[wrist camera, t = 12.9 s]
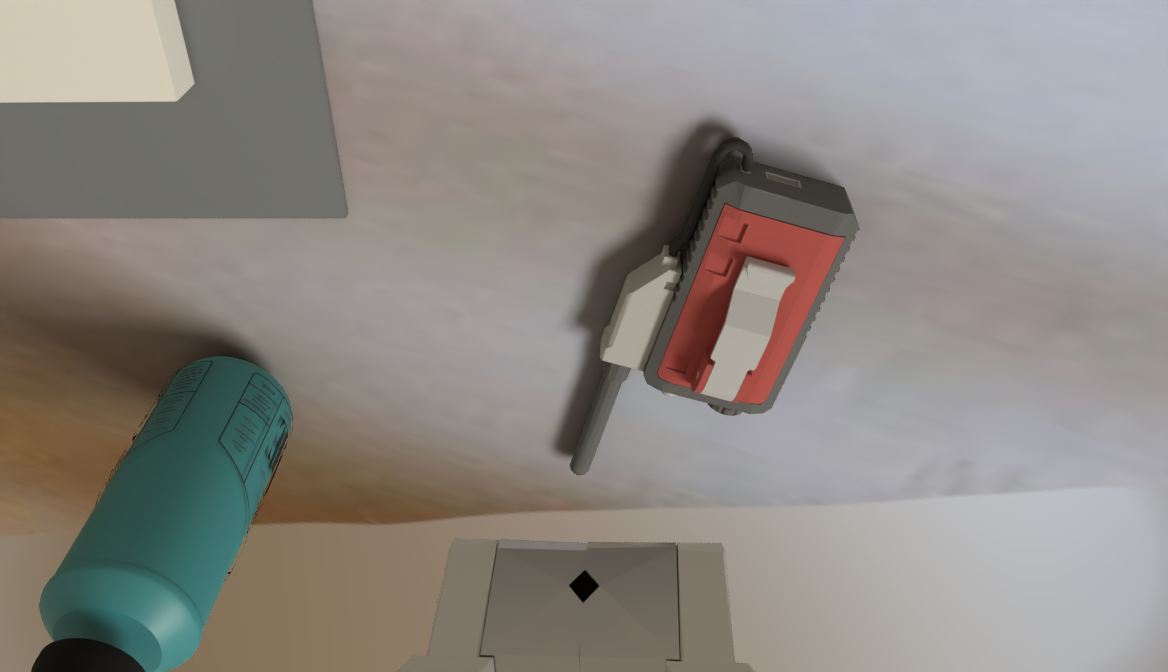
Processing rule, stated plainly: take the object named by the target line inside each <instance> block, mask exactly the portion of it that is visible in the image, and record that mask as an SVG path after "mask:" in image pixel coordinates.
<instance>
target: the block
mask: <svg viewBox="0 0 1168 672" xmlns="http://www.w3.org/2000/svg"><path fill="white" fill-rule="evenodd" d="M194 84H195V83H194V79H193V75H192V71H191V66H190V62H189V58H188V54H187V50H186V46H185V42H184V38H183V34H182V29H181V25H180V21H179V17H178V13H177V9H176V5H175V1H174V0H0V103H16V102H174V101H178V100H179V99H180V98H181V97H182V96H183V95H184V94H185V93H186V92H187V91H188V90H189V89H190V88H191V87H192V86H193V85H194Z"/></svg>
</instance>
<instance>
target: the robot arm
mask: <svg viewBox="0 0 1168 672" xmlns="http://www.w3.org/2000/svg"><path fill="white" fill-rule="evenodd" d="M727 578H728V577H727V567H726V555H725V549H724V547H723V545H722V544H721V543H677V546H676V543H645V542H640V543H639V542H588V543H578V542H555V541H530V540H507V539H501V540H484V539H462V538H461V539H460V538H455V540H454V542H453V543H452V545H451V547H450V549H449V553H448V558H447V563H446V567H445V572H444V577H443V581H442V586H441V590H440V595H439V600H438V604H437V609H436V613H435V618H434V623H433V627H432V632H431V637H430V642H429V646H428V650H427V655H426V656H412V657H411V658H410V659H409V660H408V661H407V662H406V663H405V664H404V665H403V666H402V667H401V668H400V669H399V670H398V671H397V672H755V670H754V669H753V668H752V667H751V666H750V665H749V664H747V663H746V664H745V663H735V658H734V647H733V635H732V624H731V613H730V601H729V589H728V579H727Z"/></svg>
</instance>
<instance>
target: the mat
mask: <svg viewBox="0 0 1168 672" xmlns="http://www.w3.org/2000/svg"><path fill="white" fill-rule="evenodd" d="M174 1H175V5H176V9H177V13H178V17H179V21H180V25H181V29H182V34H183V38H184V42H185V46H186V50H187V54H188V58H189V62H190V66H191V71H192V75H193V79H194V83H195V84H194V85H193V86H192V87H191V88H190V89H189V90H188V91H187V92H186V93H185V94H184V95H183V96H182V97H181V98H180V99H179V100H178V101H174V102H16V103H0V218H346V217H347V215H348V209H347V203H346V197H345V191H344V185H343V179H342V173H341V168H340V162H339V156H338V150H337V144H336V138H335V132H334V127H333V121H332V115H331V109H330V103H329V97H328V91H327V85H326V80H325V74H324V68H323V62H322V56H321V50H320V44H319V39H318V33H317V27H316V21H315V15H314V9H313V3H312V0H174Z"/></svg>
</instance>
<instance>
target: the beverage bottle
mask: <svg viewBox="0 0 1168 672" xmlns="http://www.w3.org/2000/svg"><path fill="white" fill-rule="evenodd" d="M184 367H185V368H184ZM184 367H183V368H184V369H182V368H181V369H182V370H181V371H180V372H177V371H176V372H177V373H176V372H175V373H176V375H175V377H174V378H173V379H172V381H171V382H170V384H169V386H168V387H167V389H166V390H165V392H164V394H163V395H162V396H161V399H160V400H159V399H158V401H159V402H158V403H157V405H156V407H155V408H154V410H153V412H152V413H151V415H150V417H149V418H148V420H147V421H146V423H145V425H144V426H143V428H142V430H141V431H140V433H139V434H138V436H137V438H136V439H135V437H136V436H135V437H133V440H134V439H135V441H134V443H133V444H132V446H131V448H130V449H129V451H128V450H127V451H128V452H127V453H126V456H125V455H124V456H125V457H124V458H123V459H121V460H118V461H119V463H120V462H121V461H122V460H123V461H122V462H121V463H120V465H119V463H118V462H117V463H118V464H117V465H118V466H119V467H118V469H117V470H115V474H114V475H113V473H112V472H111V473H112V475H113V477H111V480H108V481H110V482H109V483H108V485H107V484H106V485H107V486H106V488H105V490H104V492H103V494H102V496H101V498H100V500H99V502H98V503H97V502H96V504H97V505H96V506H95V508H94V510H93V512H92V513H91V515H90V517H89V518H88V520H87V522H86V523H85V525H84V527H83V528H82V530H81V532H80V533H79V535H78V537H77V538H76V540H75V541H74V543H73V545H72V547H71V548H70V550H69V552H68V553H67V555H66V557H65V558H64V560H63V561H62V563H61V565H60V566H59V568H58V570H57V571H56V573H55V575H54V576H53V577H52V578H51V579H50V580H49V581H48V583H47V584H46V586H45V587H44V589H43V592H42V594H41V599H40V604H39V608H40V613H41V618H42V621H43V623H44V625H45V628H46V630H47V631H48V633H49V635H50V636H51V638H52V640H53V641H54V642H52V643H50V644H49V645H47V646H46V647H45V648H44V649H43V650H42V651H41V652H40V654H39V656H38V657H37V659H36V661H35V663H34V665H33V667H32V670H31V672H166V671H169V670H171V669H174V668H176V667H178V666H180V665H181V664H183V663H184V662H185V661H187V660H188V659H189V658H190V657H191V656H192V655H193V654H194V652H195V651H196V649H197V647H198V645H199V643H200V640H201V637H202V633H203V629H204V626H205V624H206V622H207V620H208V617H209V615H210V613H211V610H212V608H213V605H214V603H215V601H216V599H217V597H218V594H219V592H220V590H221V588H222V585H223V583H224V581H225V578H226V576H227V574H230V573H231V572H228V571H229V569H230V567H231V565H232V563H233V561H234V559H235V557H236V555H237V553H238V551H239V548H240V546H241V544H242V541H243V539H244V537H245V534H246V532H247V530H248V528H249V525H250V523H251V520H252V518H253V516H254V514H256V512H257V511H258V510H260V509H258V510H257V511H256V508H257V506H258V508H259V501H260V499H261V497H262V494H263V497H264V496H265V495H266V493H267V491H268V489H269V486H270V484H271V481H272V479H273V477H274V474H275V472H276V470H277V467H278V465H279V463H278V465H277V467H276V470H275V472H274V474H273V477H272V479H271V481H270V484H269V486H268V488H267V491H266V493H265V495H264V493H263V492H264V490H265V489H266V488H265V487H266V485H267V483H268V480H269V478H270V476H271V474H272V472H273V470H274V467H275V465H276V463H277V462H278V461H277V460H278V458H279V456H280V453H281V451H282V448H283V446H284V444H285V441H286V439H287V438H288V433H289V430H290V427H291V421H292V420H293V417H291V414H292V412H291V406H290V401H289V399H288V396H287V394H286V392H285V391H284V389H283V388H282V386H281V385H280V384H279V383H278V382H277V380H276V379H274V378H273V377H272V376H271V375H270V374H269V373H267V372H266V371H265V370H263V369H262V368H260V367H258V366H256V365H254V364H252V363H250V362H247V361H245V360H241V359H238V358H233V357H226V356H214V357H207V358H203V359H200V360H197V361H195V362H193V363H191V364H189V365H187V366H184ZM179 370H180V369H179ZM179 370H178V371H179ZM166 384H167V383H166ZM166 384H165V385H166ZM163 389H164V388H163ZM163 389H162V390H163ZM162 393H163V391H162ZM160 394H161V392H160ZM158 396H159V397H160V395H158ZM156 399H157V398H156ZM153 404H154V403H153ZM150 409H151V408H150ZM148 412H149V411H148ZM147 415H148V414H147ZM146 417H147V416H145V418H146ZM143 420H145V419H143ZM141 425H142V424H140V426H141ZM140 426H139V427H140ZM292 430H293V428H292ZM290 432H291V431H290ZM135 433H136V432H135ZM291 434H292V433H291ZM134 435H135V434H134ZM289 438H290V437H289ZM133 440H132V442H133ZM286 445H287V444H286ZM286 445H285V448H284V450H285V449H286ZM127 446H128V445H127ZM126 448H127V447H126ZM124 451H125V450H124ZM283 452H284V451H282V453H283ZM122 456H123V455H122ZM281 458H282V456H281V457H280V460H281ZM280 460H279V462H280ZM117 465H116V466H117ZM114 468H115V467H114ZM115 469H116V468H115ZM112 471H114V470H112ZM110 476H111V474H110ZM99 494H100V493H99ZM98 497H99V496H98ZM97 500H98V499H97ZM260 504H261V501H260ZM261 506H262V505H260V507H261ZM255 511H256V512H255ZM258 512H259V511H258ZM257 515H258V514H257ZM255 518H256V516H255ZM253 524H254V523H253Z"/></svg>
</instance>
